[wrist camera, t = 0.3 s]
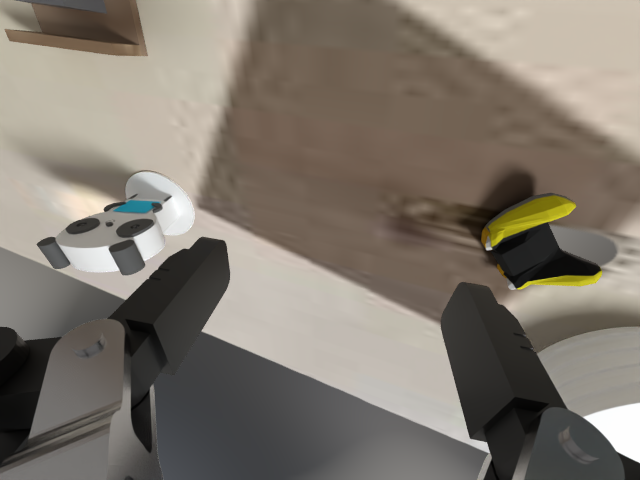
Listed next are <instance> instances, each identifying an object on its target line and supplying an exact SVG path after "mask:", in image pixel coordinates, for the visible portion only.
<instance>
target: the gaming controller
mask: <svg viewBox="0 0 640 480" xmlns="http://www.w3.org/2000/svg"><path fill="white" fill-rule="evenodd" d="M575 207H576V205H575V203H574V202H573V201H572V200H570V199H569V198H567V197H565V196H562V195H558V194H554V193H547V194H542V195H536V196H531V197H529V198H527V199H525V200H523V201H521V202H519V203H517V204H515V205H513V206H511V207H509V208H507V209H505V210H504V211H502V212H501V213H500V214H498V215H497V216H496V217H494V218H493V219H492V220H490V221H489V222H488V223H487V224H486V226H485V227H484V229H483V231H482V237H481V241H482V243H483V245H484V247H485V248H486V250H490V251H491V252H492V254H493V256H494V257H495V259H496V261H497V262H498V266H497V268H498V270H499V271H500V273H501V275H502V276H504V277H505V278H507V283H508V287H509V288H510V289H523V288H525V287H527V286H528V285H531V284H537V285H562V286H584V285H589V284H593V283H596V282H597V281H598V280H599V278H600V277H601V275H602V270H601V268H600V267H599V266H598V265H597V264H596V263H593V262H591V261H589V260H586V259H583V258H581V257H578V256H575V255H573V254H571V253H568V252H566V251H563V250H561V249H560V248H559V246H558V244H557V242H556V239H555V237H554V235H553V233H552V231H551V229H550V226H549V224H548V222H550V221H553V220H555V219H558V218H561V217H564V216H566V215H568V214H569V213H570V212H571V211H572V210H573V209H574V208H575Z"/></svg>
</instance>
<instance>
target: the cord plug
mask: <svg viewBox="0 0 640 480" xmlns="http://www.w3.org/2000/svg"><path fill="white" fill-rule="evenodd" d="M16 1H22V2H28V3H34V4H40V5H46V6H52V7H58V8H66V9H74V10H82V11H89V12H97V13H105V14H107V11H106V7H105V3H104V0H16Z"/></svg>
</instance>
